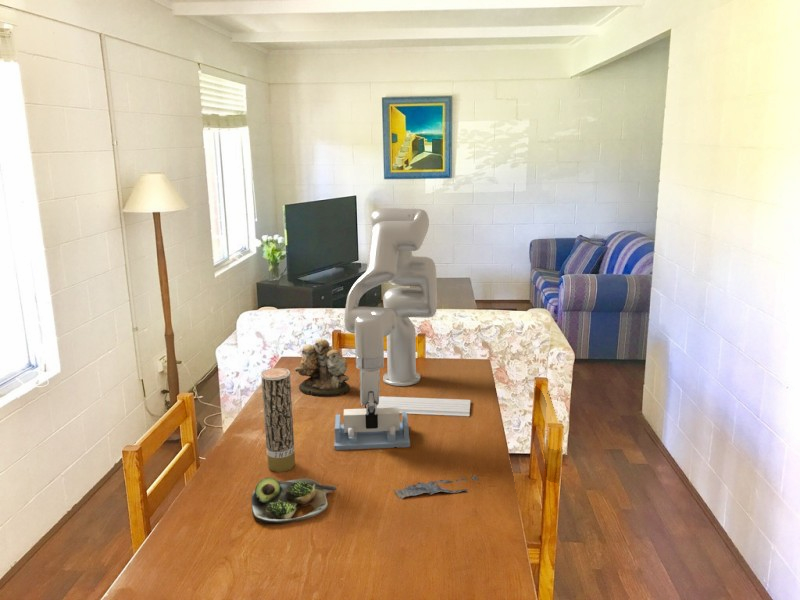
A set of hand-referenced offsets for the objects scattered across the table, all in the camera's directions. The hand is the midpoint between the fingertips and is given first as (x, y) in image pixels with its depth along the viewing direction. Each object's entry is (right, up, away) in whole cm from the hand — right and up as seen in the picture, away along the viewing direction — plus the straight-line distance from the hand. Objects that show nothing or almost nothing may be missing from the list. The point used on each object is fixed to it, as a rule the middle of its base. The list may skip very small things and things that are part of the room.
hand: (371, 420), depth 179 cm
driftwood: (+17, -12, -25) cm, 32 cm away
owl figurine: (-17, +3, +35) cm, 39 cm away
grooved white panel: (+13, -1, +20) cm, 24 cm away
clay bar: (0, -2, +1) cm, 2 cm away
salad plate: (-18, -14, -30) cm, 37 cm away
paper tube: (-22, -9, -14) cm, 27 cm away
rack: (0, -5, +1) cm, 5 cm away
